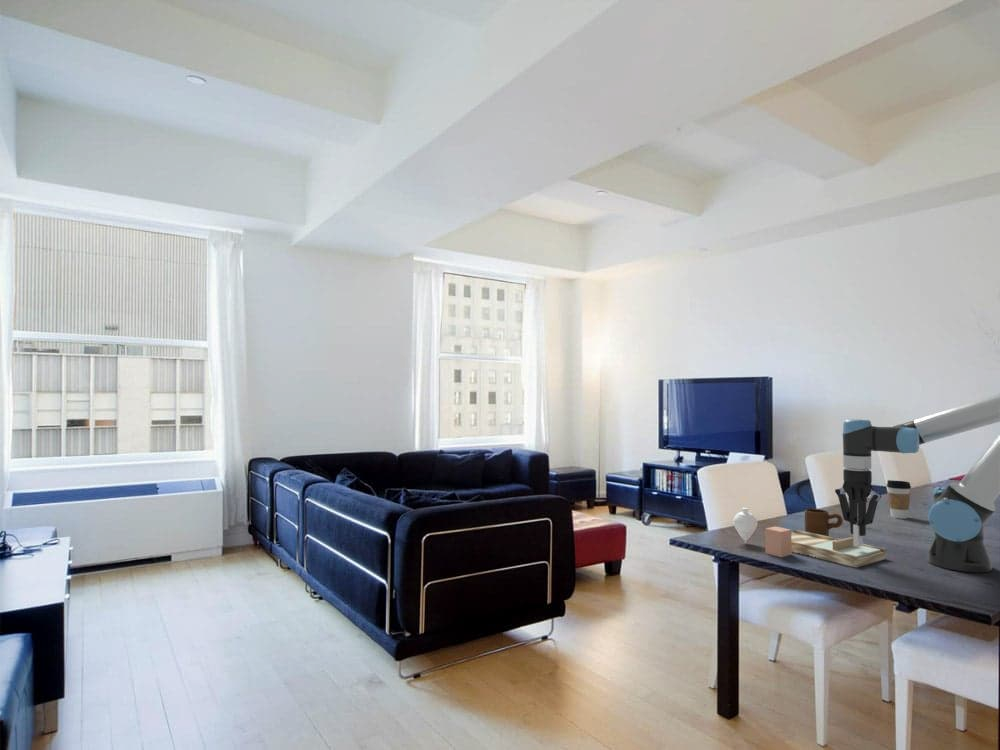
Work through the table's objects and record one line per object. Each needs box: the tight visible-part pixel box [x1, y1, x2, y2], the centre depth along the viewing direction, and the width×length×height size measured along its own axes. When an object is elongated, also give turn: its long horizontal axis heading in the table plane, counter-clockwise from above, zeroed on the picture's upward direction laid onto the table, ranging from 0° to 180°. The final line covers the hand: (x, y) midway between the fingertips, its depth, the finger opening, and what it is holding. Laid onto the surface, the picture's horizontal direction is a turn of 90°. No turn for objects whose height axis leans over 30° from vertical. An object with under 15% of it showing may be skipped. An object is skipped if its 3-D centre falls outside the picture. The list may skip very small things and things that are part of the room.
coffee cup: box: [886, 479, 912, 520], centre depth 244 cm, size 8×8×15 cm
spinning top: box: [732, 507, 758, 544], centre depth 203 cm, size 8×8×12 cm
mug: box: [804, 508, 844, 537], centre depth 210 cm, size 12×8×9 cm, turn 51°
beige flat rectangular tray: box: [791, 529, 887, 568], centre depth 192 cm, size 30×17×3 cm, turn 31°
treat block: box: [764, 526, 793, 558], centre depth 190 cm, size 6×6×8 cm
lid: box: [812, 536, 880, 558], centre depth 187 cm, size 14×15×3 cm
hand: (858, 545), depth 183 cm, fingers closed
